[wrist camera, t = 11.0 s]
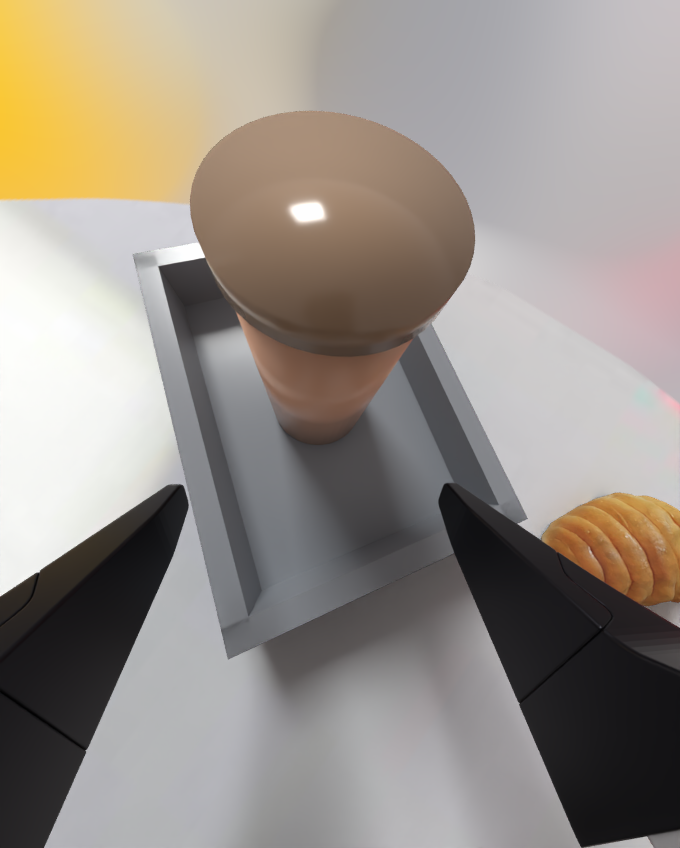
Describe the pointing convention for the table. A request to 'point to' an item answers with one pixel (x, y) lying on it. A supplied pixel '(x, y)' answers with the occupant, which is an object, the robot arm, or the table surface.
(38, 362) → the table surface
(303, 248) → the brown tapered round piece
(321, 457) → the tray
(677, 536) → the pastry
